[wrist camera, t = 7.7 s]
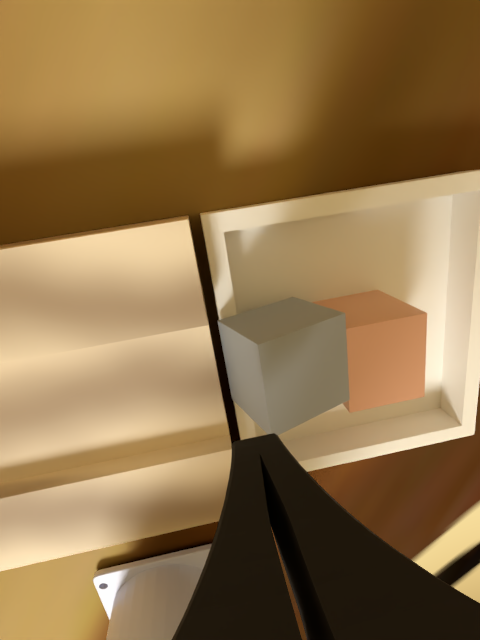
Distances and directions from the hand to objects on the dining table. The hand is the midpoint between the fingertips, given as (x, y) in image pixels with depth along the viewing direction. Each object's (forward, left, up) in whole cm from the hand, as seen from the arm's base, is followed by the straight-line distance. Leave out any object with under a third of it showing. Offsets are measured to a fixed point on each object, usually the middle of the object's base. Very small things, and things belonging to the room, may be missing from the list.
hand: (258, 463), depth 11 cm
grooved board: (0, +9, -8) cm, 12 cm away
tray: (0, -6, -8) cm, 10 cm away
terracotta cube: (0, -5, -6) cm, 8 cm away
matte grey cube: (+1, -2, -7) cm, 7 cm away
